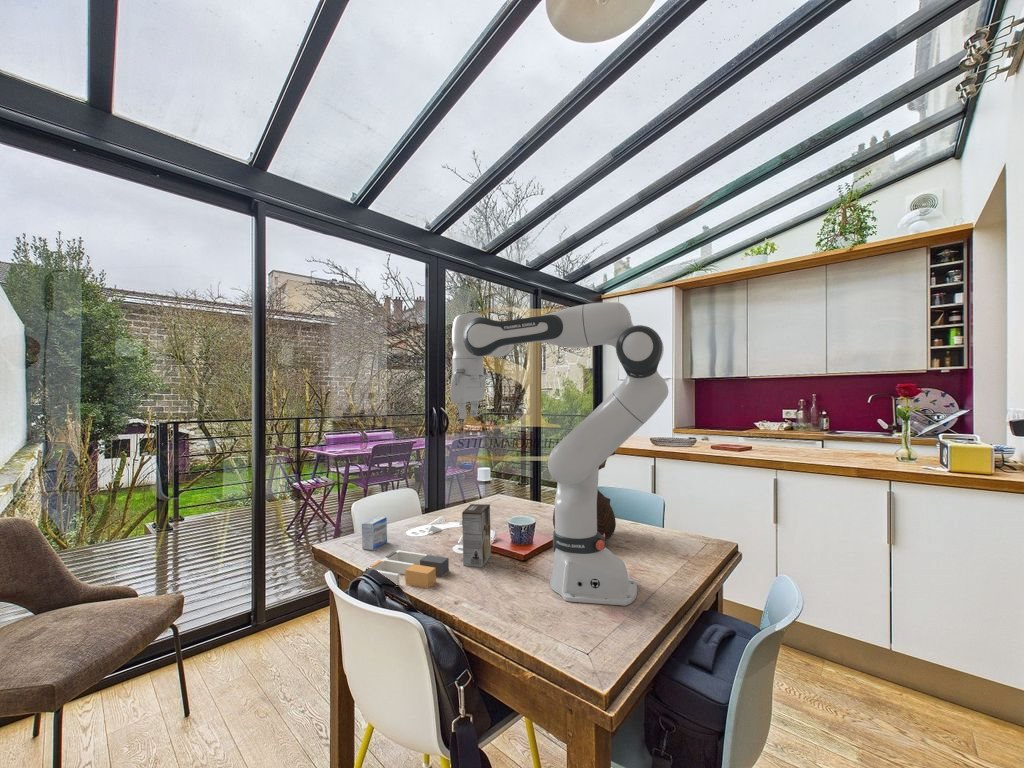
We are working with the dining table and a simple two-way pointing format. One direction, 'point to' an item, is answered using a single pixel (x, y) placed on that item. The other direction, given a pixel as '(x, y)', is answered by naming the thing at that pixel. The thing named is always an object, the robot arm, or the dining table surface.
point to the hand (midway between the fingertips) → (468, 417)
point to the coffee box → (476, 535)
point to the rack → (397, 564)
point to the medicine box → (374, 533)
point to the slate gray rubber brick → (436, 564)
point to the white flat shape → (437, 527)
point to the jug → (602, 513)
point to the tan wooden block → (420, 576)
